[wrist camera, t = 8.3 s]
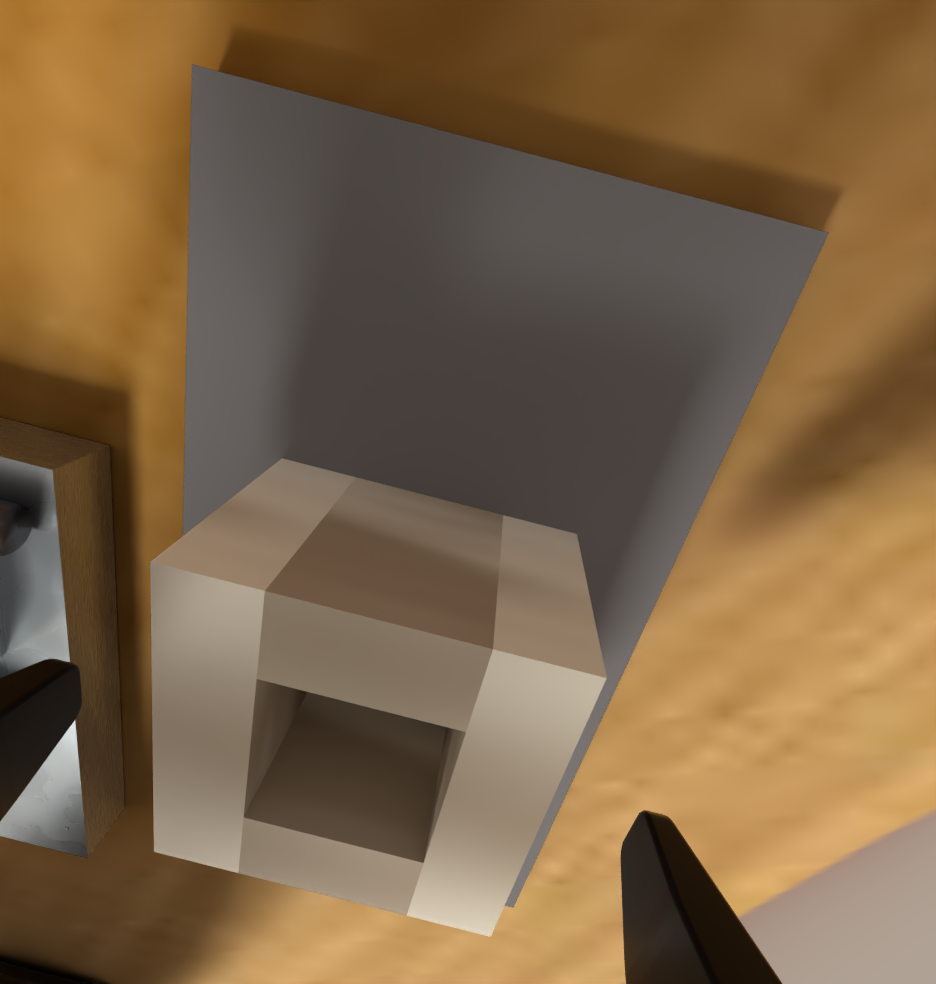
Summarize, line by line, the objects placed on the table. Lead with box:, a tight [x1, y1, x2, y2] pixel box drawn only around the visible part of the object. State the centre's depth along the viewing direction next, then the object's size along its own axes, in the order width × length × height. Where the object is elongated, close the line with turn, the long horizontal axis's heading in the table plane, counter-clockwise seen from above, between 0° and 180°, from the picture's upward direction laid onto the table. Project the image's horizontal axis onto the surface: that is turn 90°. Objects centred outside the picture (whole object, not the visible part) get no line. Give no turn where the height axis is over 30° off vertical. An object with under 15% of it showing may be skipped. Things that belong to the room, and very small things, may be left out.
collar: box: [150, 458, 607, 937], centre depth 10 cm, size 6×6×4 cm
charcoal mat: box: [183, 64, 829, 907], centre depth 12 cm, size 18×10×1 cm, turn 167°
